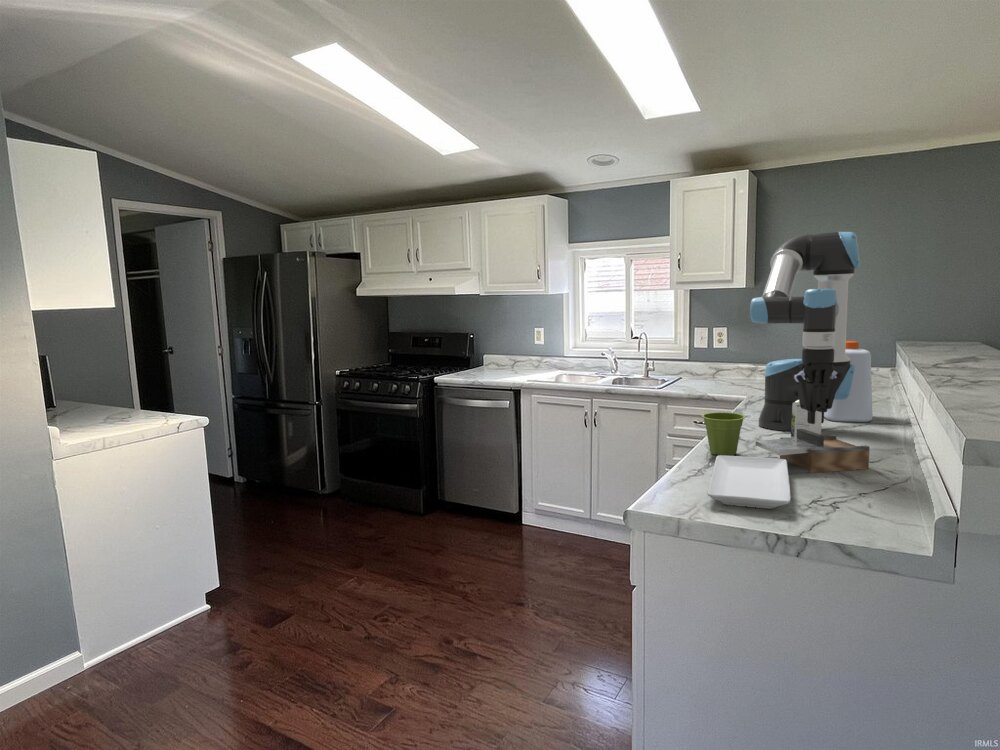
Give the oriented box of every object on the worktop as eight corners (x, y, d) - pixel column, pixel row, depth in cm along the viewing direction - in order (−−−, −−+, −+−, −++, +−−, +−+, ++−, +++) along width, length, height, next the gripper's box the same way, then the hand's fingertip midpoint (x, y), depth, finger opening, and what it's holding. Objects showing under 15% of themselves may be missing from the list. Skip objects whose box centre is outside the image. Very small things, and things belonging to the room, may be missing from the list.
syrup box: (794, 446, 181) (796, 399, 179) (816, 449, 177) (818, 400, 175) (789, 450, 176) (791, 401, 174) (811, 453, 173) (813, 403, 171)
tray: (705, 507, 131) (705, 492, 131) (716, 466, 160) (716, 453, 159) (791, 517, 125) (791, 501, 124) (786, 471, 153) (786, 458, 152)
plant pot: (724, 446, 183) (725, 410, 181) (753, 455, 172) (754, 417, 170) (692, 451, 179) (693, 414, 177) (720, 460, 168) (721, 421, 166)
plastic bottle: (827, 421, 213) (830, 343, 209) (818, 413, 227) (821, 340, 224) (875, 423, 208) (879, 343, 205) (863, 414, 223) (867, 339, 219)
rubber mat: (776, 458, 168) (776, 456, 168) (807, 473, 154) (807, 470, 154) (722, 462, 166) (722, 460, 166) (748, 476, 152) (749, 474, 152)
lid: (799, 441, 166) (799, 427, 166) (826, 451, 155) (826, 436, 155) (755, 445, 165) (755, 431, 164) (779, 455, 154) (779, 441, 153)
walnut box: (832, 455, 170) (833, 434, 169) (868, 468, 156) (869, 446, 155) (779, 458, 168) (780, 437, 167) (811, 472, 154) (812, 450, 153)
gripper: (804, 349, 153) (801, 439, 156) (851, 347, 155) (847, 437, 158) (786, 347, 160) (784, 433, 163) (831, 345, 162) (828, 431, 165)
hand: (815, 435), depth 160 cm, fingers closed
